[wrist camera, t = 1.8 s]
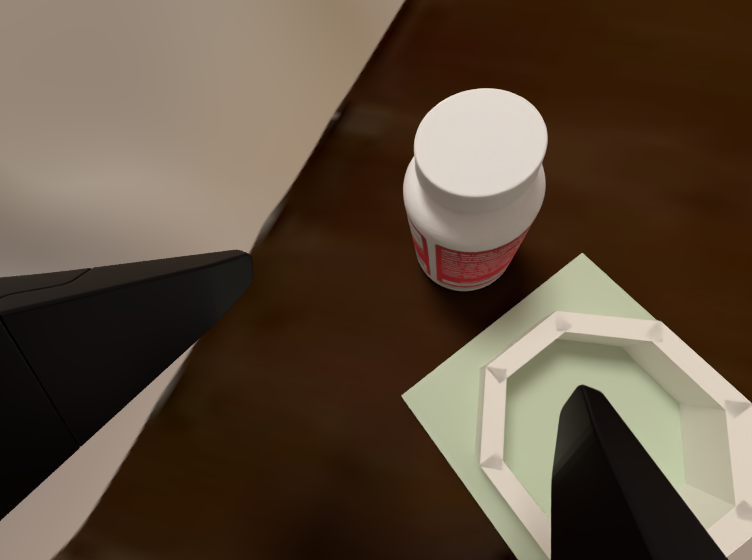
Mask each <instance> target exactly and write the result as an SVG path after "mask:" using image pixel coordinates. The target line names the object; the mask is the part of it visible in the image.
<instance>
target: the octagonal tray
mask: <svg viewBox="0 0 752 560" xmlns="http://www.w3.org/2000/svg"><path fill="white" fill-rule="evenodd" d="M582 384H583V385H586V386H589V387H592V388H594V389H597V390H599V391H601V392H602V393H603V394H604V395H605V397H606V398H607V399H608V401H609V402H610V403H611V405H612V406H613V407H614V409H615V410H616V411H617V413H618V414H619V415H620V416H621V418H622V419H623V420H624V422H625V423H626V424H627V426H628V427H629V428H630V430H631V431H632V432H633V434H634V435H635V436H636V438H637V439H638V440H639V442H640V443H641V444H642V446H643V447H644V448H645V450H646V451H647V452H648V454H649V455H650V456H651V458H652V459H653V460H654V462H655V463H656V464H657V466H658V467H659V468H660V470H661V471H662V472H663V474H664V475H665V476H666V478H667V479H668V480H669V482H670V483H671V484H672V486H673V487H674V488H675V489H676V491H677V492H678V493H679V495H680V496H681V497H682V499H683V500H684V501H685V503H686V504H687V505H688V507H689V508H690V509H691V511H692V512H693V513H694V515H695V516H696V517H697V519H698V520H699V521H700V523H701V524H702V525H703V527H704V528H705V529H706V531H707V532H708V533H709V535H710V536H711V537H712V539H713V540H714V541H715V543H716V544H717V545H718V547H719V548H720V549H721V551H722V552H723V553H724V555H725V556H726V557H728V556H729V555H730V554H731V553H733V552H734V551H735V550H736V549H737V548H739V547H740V546H741V545H742V544H744V543H745V542H746V541H747V540H748V539H750V538H751V537H752V403H751V402H750V401H748V400H747V399H746V398H745V397H744V396H743V395H742V394H741V393H740V392H738V391H737V390H736V389H735V388H734V387H733V386H732V385H731V384H730V383H728V382H727V381H726V380H725V379H724V378H723V377H722V376H721V375H720V374H718V373H717V372H716V371H715V370H714V369H713V368H712V367H711V366H710V365H709V364H707V363H706V362H705V361H704V360H703V359H702V358H701V357H700V356H699V355H697V354H696V353H695V352H694V351H693V350H692V349H691V348H690V347H689V346H687V345H686V344H685V343H684V342H683V341H682V340H681V339H680V338H679V337H677V336H676V335H675V334H674V333H673V332H672V331H671V330H670V329H669V328H668V327H666V326H665V325H664V324H663V323H662V322H661V321H657V320H656V319H655V318H654V317H652V316H651V315H650V314H649V313H648V312H647V311H646V310H645V309H644V308H642V307H641V306H640V305H639V304H638V303H637V302H636V301H635V300H634V299H633V298H631V297H630V296H629V295H628V294H627V293H626V292H625V291H624V290H623V289H621V288H620V287H619V286H618V285H617V284H616V283H615V282H614V281H613V280H612V279H610V278H609V277H608V276H607V275H606V274H605V273H604V272H603V271H602V270H600V269H599V268H598V267H597V266H596V265H595V264H594V263H593V262H592V261H591V260H589V259H588V258H587V257H586V256H585V255H584V254H583V253H581V254H580V255H579V256H578V257H576V258H575V259H574V260H573V261H571V262H570V263H569V264H568V265H566V266H565V267H564V268H562V269H561V270H560V271H559V272H557V273H556V274H555V275H554V276H552V277H551V278H550V279H549V280H547V281H546V282H545V283H544V284H542V285H541V286H540V287H538V288H537V289H536V290H535V291H533V292H532V293H531V294H530V295H528V296H527V297H526V298H525V299H523V300H522V301H521V302H519V303H518V304H517V305H516V306H514V307H513V308H512V309H511V310H509V311H508V312H507V313H506V314H504V315H503V316H502V317H500V318H499V319H498V320H497V321H495V322H494V323H493V324H492V325H490V326H489V327H488V328H487V329H485V330H484V331H483V332H482V333H480V334H479V335H478V336H476V337H475V338H474V339H473V340H471V341H470V342H469V343H468V344H466V345H465V346H464V347H463V348H461V349H460V350H459V351H457V352H456V353H455V354H454V355H452V356H451V357H450V358H449V359H447V360H446V361H445V362H444V363H442V364H441V365H440V366H438V367H437V368H436V369H435V370H433V371H432V372H431V373H430V374H428V375H427V376H426V377H425V378H423V379H422V380H421V381H419V382H418V383H417V384H416V385H414V386H413V387H412V388H411V389H409V390H408V391H407V392H406V393H404V394H403V395H402V398H403V399H404V401H405V402H406V403H407V405H408V406H409V408H410V409H411V410H412V412H413V413H414V415H415V416H416V417H417V419H418V420H419V422H420V423H421V424H422V426H423V427H424V429H425V430H426V431H427V433H428V434H429V436H430V437H431V438H432V440H433V441H434V443H435V444H436V445H437V447H438V448H439V450H440V451H441V452H442V454H443V455H444V457H445V458H446V459H447V461H448V462H449V464H450V465H451V466H452V468H453V469H454V471H455V472H456V473H457V475H458V476H459V478H460V479H461V480H462V482H463V483H464V485H465V486H466V487H467V489H468V490H469V492H470V493H471V494H472V496H473V497H474V499H475V500H476V501H477V503H478V504H479V506H480V507H481V508H482V510H483V511H484V513H485V514H486V515H487V517H488V518H489V520H490V521H491V522H492V524H493V525H494V527H495V528H496V529H497V531H498V532H499V534H500V535H501V536H502V538H503V539H504V541H505V542H506V543H507V545H508V546H509V548H510V549H511V550H512V552H513V553H514V555H515V556H516V557H517V559H518V560H551V478H552V469H553V461H554V454H555V446H556V438H557V431H558V423H559V416H560V412H561V409H562V407H563V406H564V404H565V403H566V401H567V400H568V399H569V397H570V396H571V394H572V393H573V392H574V390H575V389H576V387H577V386H579V385H582Z"/></svg>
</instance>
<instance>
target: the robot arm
mask: <svg viewBox="0 0 752 560" xmlns="http://www.w3.org/2000/svg"><path fill="white" fill-rule="evenodd" d="M252 281H253V266H252V257H251V255H250V254H248V253H246V252H243V251H241V250H229V251H222V252H214V253H206V254H198V255H190V256H182V257H174V258H166V259H158V260H150V261H142V262H135V263H126V264H119V265H110V266H102V267H94V268H92V269H91V268H87V269H78V270H70V271H61V272H52V273H43V274H33V275H22V276H11V277H0V521H1V519H3V518H4V517H5V516H6V515H7V514H8V513H9V512H10V511H11V510H13V509H14V508H15V507H16V506H17V505H18V504H19V503H20V502H21V501H22V500H23V499H25V498H26V497H27V496H28V495H29V494H30V493H31V492H32V491H33V490H34V489H36V488H37V487H38V486H39V485H40V484H41V483H42V482H43V481H44V480H45V479H46V478H48V476H50V475H51V474H52V473H53V472H54V471H55V470H56V469H57V468H59V466H61V465H62V464H63V463H64V462H65V461H66V460H67V459H68V458H69V457H70V456H72V455H73V454H74V453H75V452H76V451H77V450H78V449H79V448H80V446H82V445H83V444H84V443H85V442H86V441H88V440H89V439H90V438H91V437H92V436H93V435H94V434H95V433H96V432H98V431H99V430H100V429H101V428H102V427H103V426H104V425H105V424H106V423H107V422H108V421H110V420H111V419H112V418H113V417H114V416H115V415H116V414H117V413H118V412H119V411H121V410H122V409H123V408H124V407H125V406H126V405H127V404H128V403H129V402H130V401H131V400H133V399H134V398H135V397H136V396H137V395H138V394H139V393H140V392H141V391H142V390H143V389H144V388H146V387H147V386H148V385H149V384H150V383H151V382H152V381H153V380H154V379H155V378H156V377H158V376H159V375H160V374H161V373H162V372H163V371H164V370H165V369H166V368H168V367H169V366H170V365H171V364H172V363H173V362H174V361H175V360H176V359H177V358H179V356H181V355H182V354H183V353H184V352H185V351H186V350H187V349H188V348H189V347H191V346H192V345H193V344H194V343H195V342H196V341H197V340H198V339H199V338H200V337H202V336H203V335H204V334H205V333H206V332H207V331H208V330H209V329H210V328H211V327H212V326H213V325H215V324H216V323H217V322H218V321H219V320H220V319H221V317H222V316H223V315H224V314H225V313H226V312H227V311H228V310H229V309H230V308H231V306H232V305H233V304H234V303H235V302H236V301H237V300H238V299H239V298H240V296H241V295H242V294H243V293H244V292H245V291H246V290H247V289H248V288H249V286H250V285H251V284H252ZM551 560H728V559H727V557H726V556H725V555H724V553H723V552H722V551H721V549H720V548H719V547H718V545H717V544H716V543H715V541H714V540H713V539H712V537H711V536H710V535H709V533H708V532H707V531H706V529H705V528H704V527H703V525H702V524H701V523H700V521H699V520H698V519H697V517H696V516H695V515H694V513H693V512H692V511H691V509H690V508H689V507H688V505H687V504H686V503H685V501H684V500H683V499H682V497H681V496H680V495H679V493H678V492H677V491H676V489H675V488H674V487H673V486H672V484H671V483H670V482H669V480H668V479H667V478H666V476H665V475H664V474H663V472H662V471H661V470H660V468H659V467H658V466H657V464H656V463H655V462H654V460H653V459H652V458H651V456H650V455H649V454H648V452H647V451H646V450H645V448H644V447H643V446H642V444H641V443H640V442H639V440H638V439H637V438H636V436H635V435H634V434H633V432H632V431H631V430H630V428H629V427H628V426H627V424H626V423H625V422H624V420H623V419H622V418H621V416H620V415H619V414H618V413H617V411H616V410H615V409H614V407H613V406H612V405H611V403H610V402H609V401H608V399H607V398H606V397H605V395H604V394H603V393H602V392H601V391H599V390H597V389H594V388H592V387H589V386H586V385H583V384H582V385H579V386H577V387H576V389H575V390H574V392H573V393H572V394H571V396H570V397H569V399H568V400H567V401H566V403H565V404H564V406H563V407H562V409H561V412H560V416H559V423H558V431H557V438H556V446H555V454H554V461H553V469H552V478H551Z"/></svg>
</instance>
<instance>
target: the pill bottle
mask: <svg viewBox="0 0 752 560" xmlns="http://www.w3.org/2000/svg"><path fill="white" fill-rule="evenodd" d="M546 148H547V130H546V126H545V123H544V120H543V118H542V117H541V115H540V113H539V112H538V111H537V110H536V108H535V107H534V106H533V105H532V104H531V103H529V102H528V101H526V100H525V99H524V98H522V97H520V96H518V95H516V94H513V93H511V92H508V91H504V90H499V89H488V88H484V89H474V90H468V91H464V92H461V93H458V94H455V95H453V96H451V97H449V98H447V99H445V100H443V101H442V102H440V103H439V104H437V105H436V106H435V107H434V108H433V109H432V110H431V111H430V112H429V113H428V114H427V115H426V116H425V117H424V119H423V120H422V122H421V124H420V125H419V128H418V130H417V133H416V136H415V141H414V157H413V159H412V160H411V162H410V164H409V166H408V169H407V171H406V175H405V179H404V186H403V195H404V203H405V209H406V212H407V216H408V220H409V225H410V229H411V233H412V237H413V242H414V245H415V250H416V254H417V258H418V261H419V263H420V265H421V267H422V269H423V271H424V272H425V273H426V274H427V276H428V277H429V278H431V279H432V280H433V281H434V282H436V283H437V284H439V285H441V286H443V287H445V288H448V289H452V290H456V291H472V290H477V289H480V288H483V287H485V286H487V285H489V284H491V283H493V282H494V281H495V280H497V279H498V278H499V277H500V276H501V275H502V274H503V272H504V271H505V270H506V268H507V267H508V265H509V264H510V262H511V260H512V258H513V256H514V255H515V253H516V251H517V250H518V248H519V246H520V244H521V242H522V241H523V239H524V237H525V235H526V234H527V232H528V230H529V228H530V226H531V225H532V223H533V221H534V220H535V218H536V216H537V214H538V212H539V210H540V207H541V205H542V202H543V198H544V194H545V174H544V169H543V166H542V161H543V159H544V156H545V153H546Z"/></svg>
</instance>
